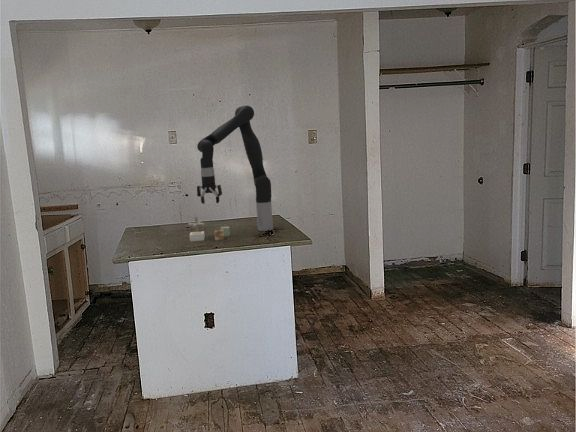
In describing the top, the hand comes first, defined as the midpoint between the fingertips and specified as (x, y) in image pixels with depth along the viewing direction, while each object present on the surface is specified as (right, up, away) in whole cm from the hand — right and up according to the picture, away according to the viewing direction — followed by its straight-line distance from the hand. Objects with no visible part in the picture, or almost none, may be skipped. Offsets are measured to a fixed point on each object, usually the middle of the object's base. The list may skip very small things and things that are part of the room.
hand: (210, 203), depth 297 cm
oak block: (+5, -21, 0) cm, 21 cm away
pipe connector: (-11, -18, +21) cm, 30 cm away
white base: (-8, -21, +2) cm, 23 cm away
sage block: (+8, -19, +8) cm, 22 cm away
